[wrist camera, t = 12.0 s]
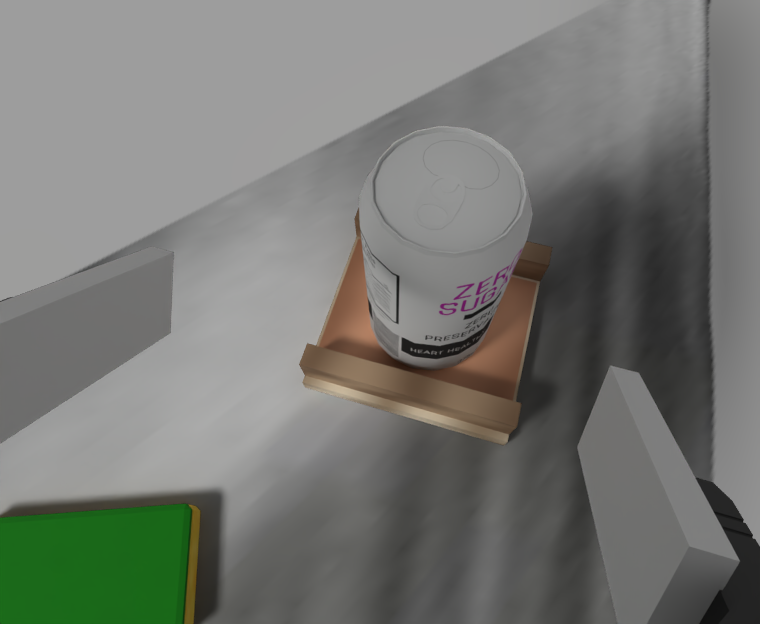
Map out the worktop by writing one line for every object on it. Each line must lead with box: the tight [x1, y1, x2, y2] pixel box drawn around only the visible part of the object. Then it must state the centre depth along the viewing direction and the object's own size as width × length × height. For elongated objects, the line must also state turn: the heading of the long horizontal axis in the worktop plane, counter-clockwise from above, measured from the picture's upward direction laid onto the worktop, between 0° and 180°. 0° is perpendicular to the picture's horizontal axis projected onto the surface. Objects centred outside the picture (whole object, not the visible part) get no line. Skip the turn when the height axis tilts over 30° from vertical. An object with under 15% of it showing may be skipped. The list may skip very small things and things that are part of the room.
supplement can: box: [359, 126, 533, 371], centre depth 30 cm, size 8×8×15 cm
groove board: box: [299, 208, 552, 445], centre depth 37 cm, size 14×14×4 cm
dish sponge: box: [0, 504, 201, 624], centre depth 32 cm, size 7×14×2 cm, turn 94°
